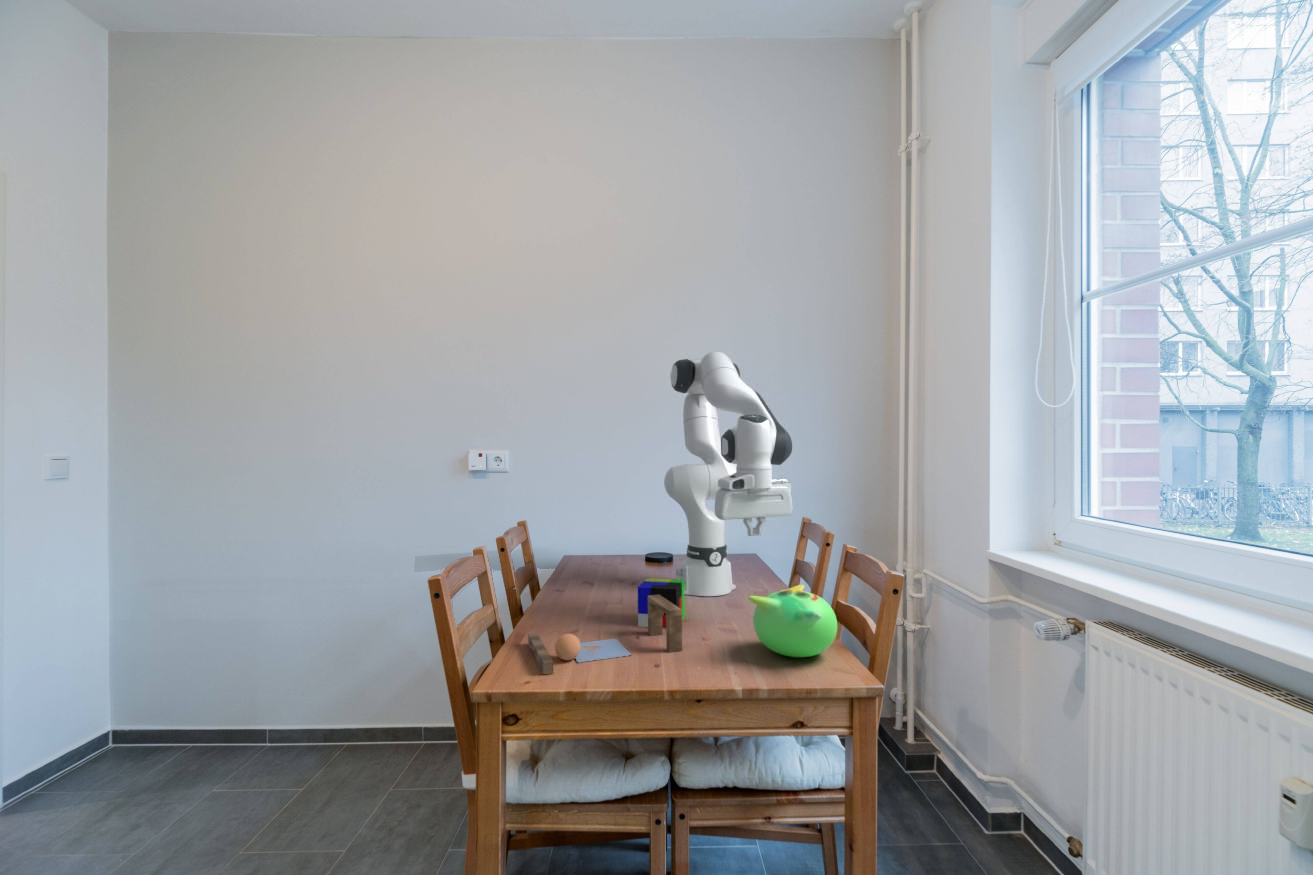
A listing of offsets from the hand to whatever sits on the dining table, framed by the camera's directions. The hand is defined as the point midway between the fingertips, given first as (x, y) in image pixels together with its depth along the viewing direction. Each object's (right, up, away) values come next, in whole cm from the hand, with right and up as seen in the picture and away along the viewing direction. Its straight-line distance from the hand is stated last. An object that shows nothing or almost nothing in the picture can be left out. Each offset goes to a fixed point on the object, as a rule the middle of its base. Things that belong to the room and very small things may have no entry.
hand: (754, 535), depth 159 cm
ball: (-44, -21, -21) cm, 53 cm away
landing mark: (-38, -24, -16) cm, 47 cm away
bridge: (-23, -23, -10) cm, 34 cm away
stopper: (-50, -24, -20) cm, 59 cm away
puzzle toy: (-23, -23, +5) cm, 33 cm away
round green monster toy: (+6, -23, -20) cm, 31 cm away
